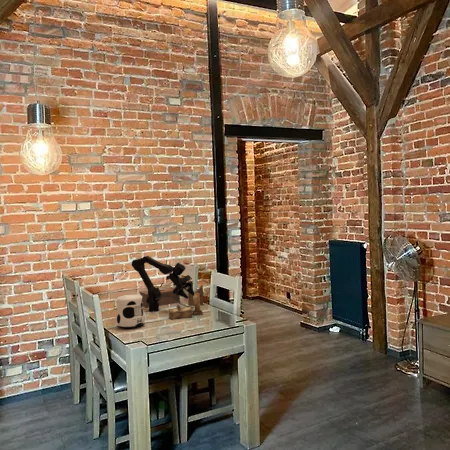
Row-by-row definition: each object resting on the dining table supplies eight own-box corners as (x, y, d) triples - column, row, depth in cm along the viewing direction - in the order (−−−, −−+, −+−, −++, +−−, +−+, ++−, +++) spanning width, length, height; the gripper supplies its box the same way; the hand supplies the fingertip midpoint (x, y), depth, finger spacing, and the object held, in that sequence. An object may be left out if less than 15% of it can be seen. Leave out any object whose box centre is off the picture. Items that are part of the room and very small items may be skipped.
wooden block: (203, 305, 323) (202, 280, 322) (189, 306, 320) (187, 281, 319) (202, 303, 326) (201, 279, 325) (188, 305, 324) (187, 280, 323)
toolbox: (170, 319, 285) (170, 313, 284) (168, 316, 294) (168, 309, 294) (204, 316, 290) (203, 309, 290) (201, 312, 300) (200, 306, 299)
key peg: (195, 315, 294) (194, 294, 293) (194, 313, 297) (193, 293, 297) (200, 314, 295) (199, 293, 294) (199, 313, 298) (198, 292, 298)
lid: (170, 312, 284) (170, 307, 284) (168, 310, 292) (168, 305, 292) (196, 310, 289) (195, 305, 288) (193, 307, 296) (193, 302, 296)
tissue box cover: (172, 299, 346) (171, 287, 346) (179, 302, 334) (179, 289, 333) (140, 304, 333) (139, 291, 333) (147, 308, 321) (146, 294, 321)
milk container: (120, 322, 282) (119, 294, 282) (148, 321, 282) (146, 293, 281) (113, 330, 265) (111, 300, 264) (142, 329, 265) (140, 299, 264)
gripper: (175, 274, 291) (191, 291, 286) (190, 269, 307) (204, 286, 303) (166, 285, 294) (181, 302, 290) (180, 280, 311) (195, 297, 307)
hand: (191, 296), depth 297 cm, fingers open, 9 cm apart
